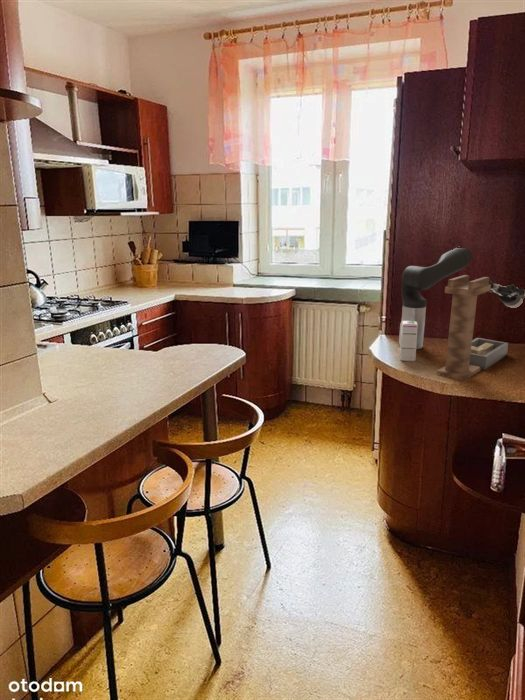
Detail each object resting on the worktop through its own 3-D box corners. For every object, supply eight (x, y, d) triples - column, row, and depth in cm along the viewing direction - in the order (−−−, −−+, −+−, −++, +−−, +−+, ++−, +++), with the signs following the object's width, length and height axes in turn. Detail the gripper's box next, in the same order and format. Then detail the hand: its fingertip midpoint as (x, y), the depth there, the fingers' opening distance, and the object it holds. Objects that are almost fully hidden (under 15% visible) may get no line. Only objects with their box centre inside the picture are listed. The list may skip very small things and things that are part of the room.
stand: (436, 374, 178) (446, 279, 169) (452, 364, 188) (462, 274, 179) (465, 380, 172) (476, 282, 162) (480, 370, 182) (491, 277, 172)
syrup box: (415, 361, 193) (418, 324, 189) (399, 360, 194) (402, 323, 190) (414, 357, 198) (417, 320, 194) (398, 356, 199) (401, 320, 195)
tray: (452, 363, 190) (453, 350, 189) (475, 349, 207) (477, 337, 206) (484, 370, 182) (486, 356, 181) (506, 355, 199) (508, 342, 198)
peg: (465, 359, 191) (466, 348, 189) (483, 349, 204) (484, 338, 202) (477, 362, 188) (478, 350, 187) (494, 351, 201) (496, 340, 200)
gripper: (497, 285, 212) (485, 272, 200) (533, 291, 203) (522, 278, 191) (491, 302, 212) (478, 290, 200) (526, 309, 203) (515, 297, 191)
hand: (500, 284), depth 195 cm, fingers open, 8 cm apart
